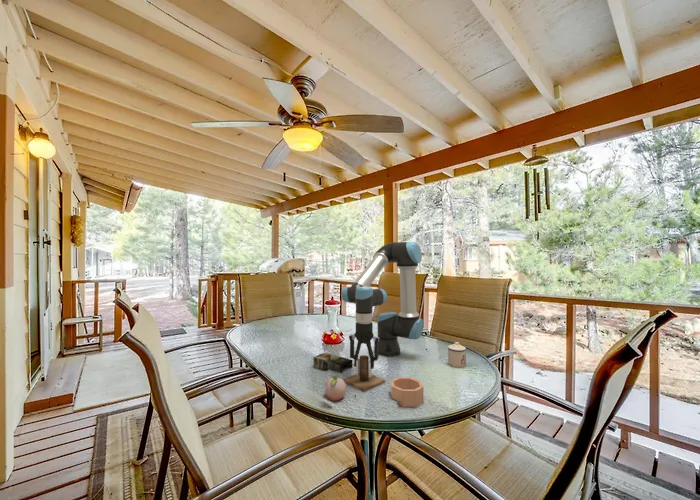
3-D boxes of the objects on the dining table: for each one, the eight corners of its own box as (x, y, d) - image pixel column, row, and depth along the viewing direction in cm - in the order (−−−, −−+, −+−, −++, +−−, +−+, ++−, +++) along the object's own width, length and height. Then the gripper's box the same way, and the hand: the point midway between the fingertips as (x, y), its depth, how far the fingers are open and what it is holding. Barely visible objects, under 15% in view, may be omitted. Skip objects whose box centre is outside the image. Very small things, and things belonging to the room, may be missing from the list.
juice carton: (310, 367, 156) (311, 355, 156) (323, 361, 163) (324, 350, 163) (340, 377, 143) (340, 364, 143) (353, 371, 151) (353, 359, 151)
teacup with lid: (464, 369, 152) (464, 346, 152) (446, 365, 157) (446, 343, 157) (468, 361, 163) (468, 340, 163) (450, 358, 167) (450, 337, 167)
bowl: (384, 398, 122) (384, 383, 122) (403, 388, 130) (403, 374, 130) (410, 410, 113) (410, 394, 113) (428, 399, 121) (428, 384, 121)
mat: (341, 385, 134) (341, 381, 134) (363, 376, 143) (363, 373, 143) (364, 396, 123) (364, 392, 123) (386, 386, 133) (386, 382, 133)
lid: (343, 381, 134) (343, 356, 134) (363, 373, 142) (363, 350, 143) (364, 391, 124) (364, 364, 124) (385, 382, 133) (384, 357, 133)
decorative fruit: (346, 406, 115) (346, 380, 115) (325, 407, 115) (325, 380, 115) (345, 395, 125) (345, 370, 125) (325, 395, 124) (325, 371, 124)
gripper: (342, 322, 133) (342, 375, 132) (382, 325, 127) (382, 381, 127) (347, 319, 140) (347, 369, 140) (385, 321, 134) (385, 374, 134)
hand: (364, 374), depth 133 cm, fingers open, 5 cm apart
